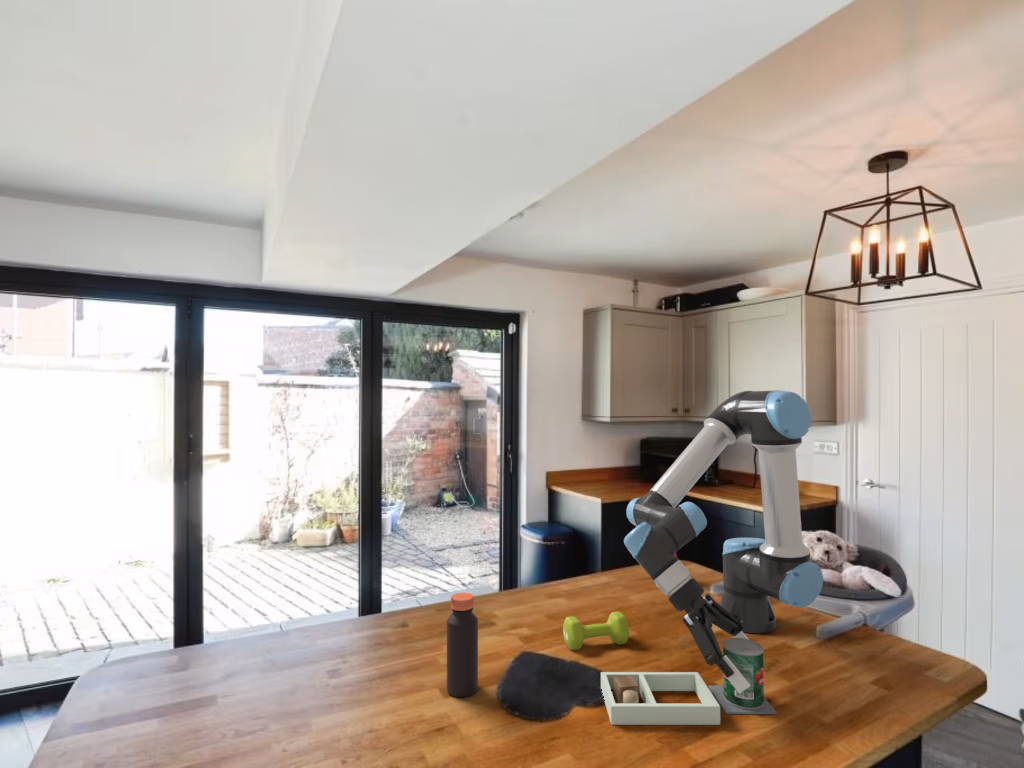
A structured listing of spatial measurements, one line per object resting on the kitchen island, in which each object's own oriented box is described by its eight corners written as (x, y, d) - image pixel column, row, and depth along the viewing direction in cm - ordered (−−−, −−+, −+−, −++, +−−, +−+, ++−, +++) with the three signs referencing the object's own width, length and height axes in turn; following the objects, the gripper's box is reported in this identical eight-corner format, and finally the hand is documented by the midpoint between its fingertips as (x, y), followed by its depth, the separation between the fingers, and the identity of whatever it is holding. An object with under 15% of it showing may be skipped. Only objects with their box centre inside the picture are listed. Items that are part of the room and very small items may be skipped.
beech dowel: (636, 709, 110) (636, 689, 111) (640, 718, 108) (639, 698, 108) (621, 709, 110) (621, 689, 111) (624, 718, 108) (624, 698, 108)
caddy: (697, 688, 118) (697, 672, 118) (720, 724, 105) (720, 706, 105) (600, 688, 119) (600, 672, 119) (611, 724, 106) (611, 706, 106)
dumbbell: (618, 634, 146) (618, 607, 146) (632, 648, 138) (632, 619, 138) (560, 641, 142) (560, 613, 142) (570, 655, 134) (570, 625, 134)
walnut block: (631, 694, 116) (631, 675, 116) (638, 705, 112) (638, 685, 112) (613, 696, 116) (613, 677, 116) (620, 707, 112) (620, 687, 112)
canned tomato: (716, 690, 117) (715, 638, 117) (751, 687, 118) (750, 636, 118) (734, 711, 109) (734, 655, 109) (772, 709, 110) (771, 653, 110)
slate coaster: (754, 687, 119) (754, 685, 119) (776, 714, 109) (776, 712, 109) (708, 687, 119) (708, 685, 119) (726, 714, 109) (726, 712, 109)
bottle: (470, 700, 114) (469, 604, 114) (440, 694, 116) (441, 600, 117) (482, 684, 120) (482, 593, 121) (455, 679, 123) (455, 589, 123)
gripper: (685, 580, 133) (752, 660, 124) (647, 614, 113) (723, 712, 104) (707, 562, 130) (777, 642, 121) (672, 594, 110) (752, 692, 101)
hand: (752, 674), depth 113 cm, fingers open, 13 cm apart
